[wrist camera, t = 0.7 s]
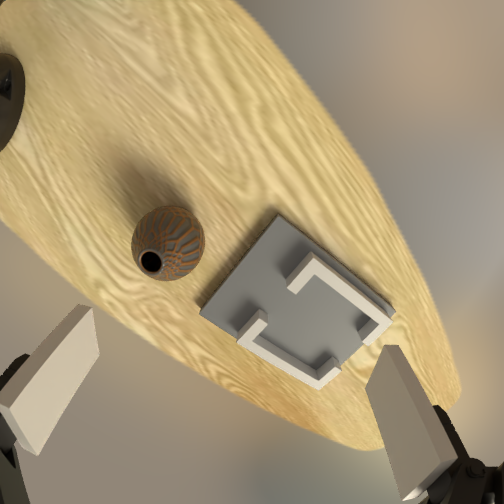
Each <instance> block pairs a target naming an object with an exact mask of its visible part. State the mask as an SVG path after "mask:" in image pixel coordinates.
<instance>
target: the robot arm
mask: <svg viewBox="0 0 504 504" xmlns="http://www.w3.org/2000/svg"><path fill="white" fill-rule="evenodd" d="M4 1H6V0H0V5H1V4H2V3H3V2H4ZM24 96H25V77H24V72H23V68H22V66H21V64H20V62H19V61H18V59H17V58H15V57H14V56H12V55H8V54H3V53H0V151H1V150H2V149H3V148H4V147H5V146H6V145H7V143H8V142H9V140H10V139H11V137H12V135H13V133H14V131H15V129H16V127H17V124H18V122H19V119H20V115H21V112H22V108H23V103H24ZM98 356H99V349H98V343H97V337H96V331H95V325H94V318H93V311H92V307H89V306H85V305H80V304H78V305H77V306H76V307H75V308H74V309H73V310H72V311H71V312H70V313H69V314H68V315H67V316H66V317H65V318H64V319H63V320H62V322H60V323H59V325H58V326H57V327H56V328H55V329H54V330H53V331H52V332H51V333H50V334H49V335H48V336H47V338H46V339H45V340H44V341H43V342H42V343H41V344H40V345H39V346H38V348H37V349H36V350H35V351H34V352H33V353H32V354H31V355H28V354H24V355H22V356H20V357H18V358H16V359H15V360H14V361H13V362H12V364H11V365H10V366H9V367H8V369H6V370H5V371H4V373H3V375H1V376H0V504H30V501H29V498H28V495H27V492H26V488H25V485H24V481H23V477H22V474H21V470H20V466H19V461H18V457H17V452H16V449H15V446H14V443H15V441H16V440H18V442H19V443H20V445H21V446H22V448H24V449H25V450H27V451H29V452H31V453H33V454H35V455H37V456H38V455H39V453H40V451H41V449H42V448H43V446H44V444H45V442H46V440H47V439H48V437H49V435H50V434H51V432H52V430H53V428H54V427H55V425H56V423H57V422H58V420H59V418H60V417H61V415H62V413H63V412H64V410H65V408H66V407H67V405H68V403H69V402H70V400H71V399H72V397H73V395H74V394H75V392H76V390H77V389H78V387H79V386H80V384H81V383H82V381H83V379H84V378H85V376H86V375H87V373H88V372H89V370H90V368H91V367H92V365H93V364H94V362H95V361H96V359H97V358H98ZM365 390H366V393H367V395H368V398H369V401H370V404H371V407H372V409H373V412H374V415H375V418H376V421H377V424H378V427H379V430H380V433H381V436H382V439H383V442H384V445H385V448H386V451H387V454H388V457H389V461H390V464H391V467H392V470H393V473H394V476H395V480H396V483H397V486H398V490H399V493H400V497H401V500H402V501H403V500H407V499H412V498H416V497H419V496H420V495H421V494H422V493H423V492H424V491H425V490H426V489H427V492H428V496H427V497H426V498H425V499H424V500H423V501H421V502H420V503H419V504H504V462H503V463H502V464H501V465H500V466H499V467H486V466H485V465H484V464H483V462H482V461H480V460H478V459H475V458H470V457H469V455H468V454H467V451H466V449H465V447H464V445H463V443H462V442H461V439H460V437H459V435H458V434H457V432H456V431H455V428H454V426H453V424H451V420H450V418H449V417H448V415H447V413H446V412H445V411H444V410H443V409H442V408H441V407H440V406H439V405H434V406H432V404H431V402H430V401H429V399H428V397H427V395H426V393H425V391H424V389H423V388H422V386H421V384H420V382H419V380H418V378H417V377H416V375H415V373H414V371H413V370H412V368H411V366H410V364H409V362H408V361H407V359H406V357H405V356H404V354H403V352H402V350H401V349H400V347H399V345H384V347H383V349H382V351H381V354H380V356H379V359H378V361H377V363H376V365H375V368H374V370H373V372H372V374H371V377H370V379H369V381H368V383H367V385H366V387H365Z"/></svg>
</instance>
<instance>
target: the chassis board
mask: <svg viewBox="0 0 504 504" xmlns="http://www.w3.org/2000/svg"><path fill="white" fill-rule="evenodd" d="M395 312H396V311H395V309H394V308H393V307H392V306H391V305H390V304H389V303H388V302H387V301H385V300H384V299H383V298H382V297H381V296H380V295H378V294H377V293H376V292H375V291H374V290H372V289H371V288H370V287H369V286H368V285H366V284H365V283H364V282H363V281H362V280H361V279H359V278H358V277H357V276H356V275H355V274H353V273H352V272H351V271H350V270H348V269H347V268H346V267H345V266H344V265H342V264H341V263H340V262H339V261H337V260H336V259H335V258H334V257H333V256H331V255H330V254H329V253H328V252H326V251H325V250H324V249H323V248H321V247H320V246H319V245H318V244H316V243H315V242H314V241H313V240H311V239H310V238H309V237H308V236H306V235H305V234H304V233H303V232H301V231H300V230H299V229H297V228H296V227H295V226H294V225H292V224H291V223H290V222H289V221H287V220H286V219H285V218H283V217H282V216H281V215H280V214H277V215H276V216H275V218H274V219H273V220H272V221H271V222H270V224H269V225H268V226H267V227H266V229H265V230H264V231H263V232H262V234H261V235H260V236H259V237H258V239H257V240H256V241H255V242H254V243H253V245H252V246H251V247H250V248H249V250H248V251H247V252H246V253H245V255H244V256H243V257H242V258H241V260H240V261H239V262H238V263H237V265H236V266H235V267H234V268H233V270H232V271H231V272H230V273H229V274H228V276H227V277H226V278H225V279H224V281H223V282H222V283H221V284H220V286H219V287H218V288H217V289H216V291H215V292H214V293H213V294H212V296H211V297H210V298H209V299H208V301H207V302H206V303H205V304H204V306H203V307H202V308H201V310H200V313H199V314H200V315H201V316H203V317H204V318H206V319H207V320H209V321H210V322H212V323H213V324H215V325H216V326H218V327H219V328H221V329H222V330H224V331H225V332H227V333H229V334H230V335H232V336H233V337H235V338H236V339H237V341H236V343H238V344H240V345H241V346H243V347H244V348H246V349H248V350H249V351H251V352H253V353H254V354H256V355H258V356H259V357H261V358H263V359H264V360H266V361H268V362H269V363H271V364H273V365H274V366H276V367H278V368H279V369H281V370H283V371H285V372H286V373H288V374H290V375H292V376H293V377H295V378H297V379H299V380H300V381H302V382H304V383H306V384H308V385H309V386H311V387H313V388H315V389H317V390H320V389H321V388H322V387H323V386H325V385H326V384H327V383H328V382H329V381H331V380H332V379H333V378H334V377H335V376H336V375H338V374H339V373H340V372H341V371H342V370H341V367H340V365H342V364H343V363H344V362H345V361H346V360H347V359H348V358H349V357H350V356H351V355H353V354H354V353H355V352H356V351H357V350H358V349H359V348H360V347H361V346H362V345H363V344H366V345H367V346H369V345H370V344H372V343H373V342H374V341H375V340H376V339H377V338H378V337H379V336H380V335H381V334H382V333H383V332H384V331H385V330H386V329H387V328H388V327H389V326H390V325H391V324H392V323H393V321H392V319H391V318H390V317H391V316H392V315H393V314H394V313H395Z"/></svg>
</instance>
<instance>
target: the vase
mask: <svg viewBox="0 0 504 504" xmlns="http://www.w3.org/2000/svg"><path fill="white" fill-rule="evenodd" d="M204 247H205V236H204V231H203V228H202V226H201V224H200V222H199V221H198V219H197V218H196V217H195V216H194V215H193V214H192V213H190V212H189V211H187V210H186V209H183V208H180V207H176V206H164V207H160V208H157V209H155V210H153V211H151V212H149V213H148V214H147V215H145V216H144V217H143V218H142V219H141V220H140V222H139V223H138V224H137V226H136V228H135V230H134V233H133V236H132V242H131V250H132V255H133V258H134V261H135V263H136V264H137V266H138V267H139V269H140V270H141V271H142V272H143V273H144V274H146V275H147V276H149V277H151V278H153V279H155V280H159V281H173V280H177V279H180V278H182V277H184V276H186V275H187V274H189V273H190V272H191V271H192V270H193V269H194V268H195V267H196V266H197V264H198V263H199V261H200V259H201V257H202V255H203V252H204Z"/></svg>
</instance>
